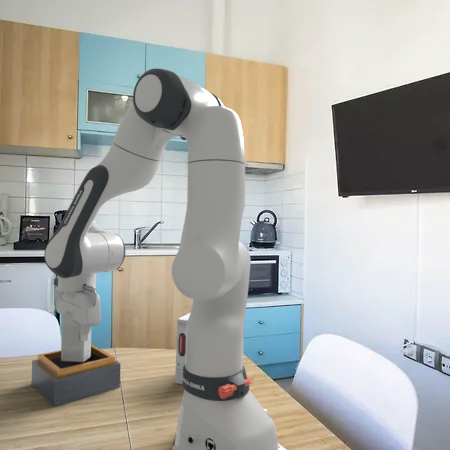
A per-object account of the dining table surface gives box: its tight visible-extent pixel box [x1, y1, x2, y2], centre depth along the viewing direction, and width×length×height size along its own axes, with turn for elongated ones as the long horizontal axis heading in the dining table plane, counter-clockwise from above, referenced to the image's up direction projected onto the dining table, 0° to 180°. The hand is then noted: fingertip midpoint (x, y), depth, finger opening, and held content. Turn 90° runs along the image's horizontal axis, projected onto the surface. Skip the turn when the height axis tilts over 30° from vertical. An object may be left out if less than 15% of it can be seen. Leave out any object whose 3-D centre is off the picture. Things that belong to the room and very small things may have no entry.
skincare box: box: [60, 311, 92, 362], centre depth 96 cm, size 6×4×12 cm
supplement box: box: [174, 312, 191, 385], centre depth 101 cm, size 10×9×17 cm
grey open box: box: [31, 343, 121, 408], centre depth 97 cm, size 19×16×8 cm
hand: (76, 336), depth 96 cm, fingers closed on skincare box, 7 cm apart
